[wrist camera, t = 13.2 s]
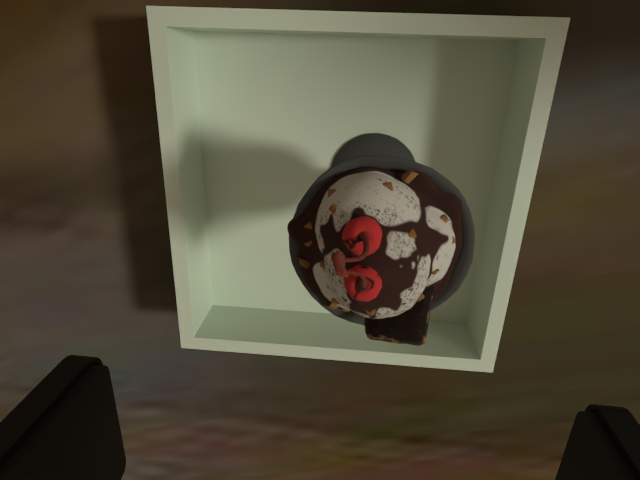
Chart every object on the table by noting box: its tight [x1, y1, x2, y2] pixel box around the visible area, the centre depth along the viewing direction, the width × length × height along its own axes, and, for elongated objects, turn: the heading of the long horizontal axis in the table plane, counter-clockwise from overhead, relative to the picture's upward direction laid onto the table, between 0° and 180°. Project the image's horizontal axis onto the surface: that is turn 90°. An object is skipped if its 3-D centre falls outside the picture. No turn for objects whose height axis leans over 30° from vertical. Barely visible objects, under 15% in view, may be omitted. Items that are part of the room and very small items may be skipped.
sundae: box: [287, 133, 475, 346], centre depth 19 cm, size 7×7×15 cm
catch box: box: [146, 6, 570, 373], centre depth 25 cm, size 18×18×4 cm
